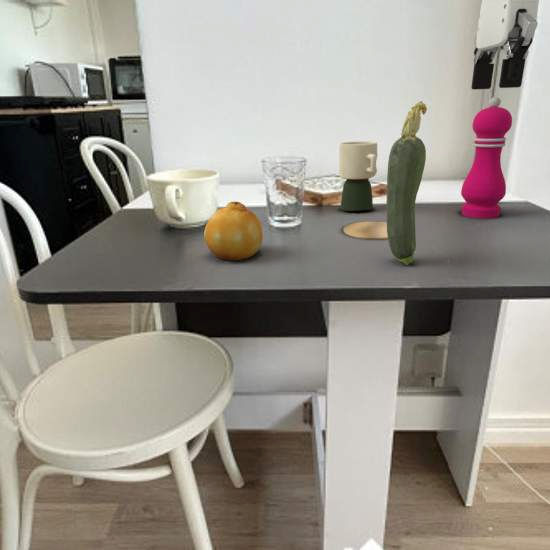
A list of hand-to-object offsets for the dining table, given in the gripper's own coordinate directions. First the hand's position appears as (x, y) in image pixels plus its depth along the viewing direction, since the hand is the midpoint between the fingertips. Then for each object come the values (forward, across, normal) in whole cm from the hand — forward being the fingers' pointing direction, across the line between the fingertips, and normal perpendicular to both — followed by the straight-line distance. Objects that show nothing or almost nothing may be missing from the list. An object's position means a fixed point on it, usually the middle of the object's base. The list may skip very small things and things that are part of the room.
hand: (494, 88), depth 72 cm
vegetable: (+22, -23, +21) cm, 38 cm away
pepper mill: (+22, 0, 0) cm, 22 cm away
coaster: (+22, -8, +21) cm, 31 cm away
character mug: (+22, +7, +20) cm, 31 cm away
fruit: (+22, -17, +43) cm, 51 cm away
